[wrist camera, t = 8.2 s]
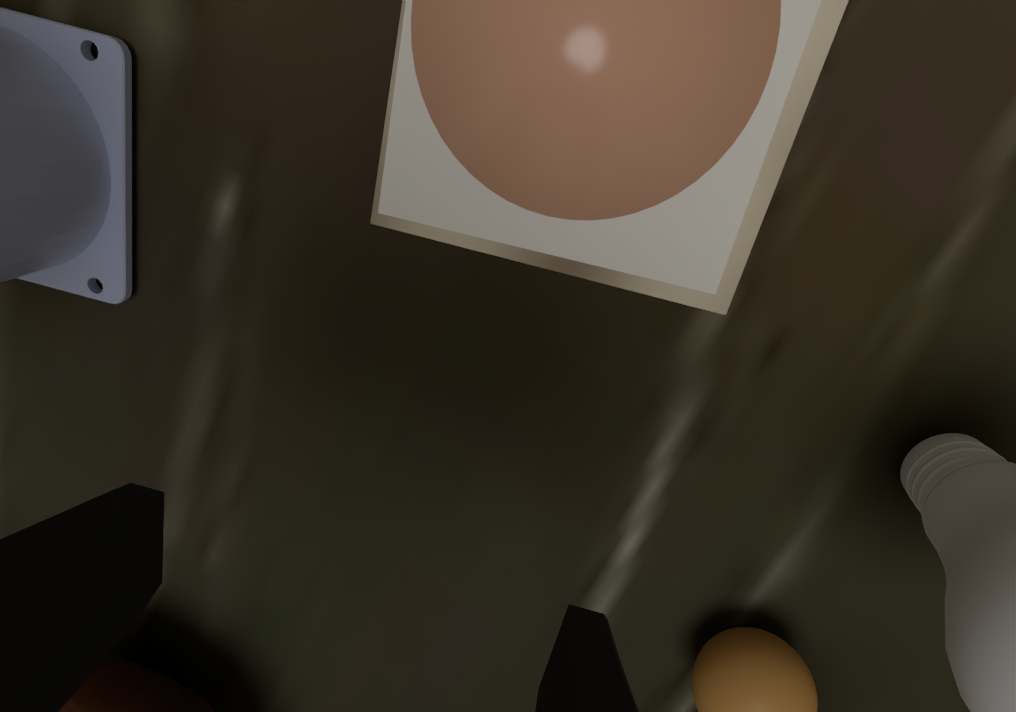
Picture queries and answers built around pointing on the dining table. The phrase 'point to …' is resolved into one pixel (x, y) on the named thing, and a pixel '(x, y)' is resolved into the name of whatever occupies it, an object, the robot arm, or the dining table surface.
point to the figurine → (751, 674)
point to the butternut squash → (133, 691)
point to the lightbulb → (972, 559)
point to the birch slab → (750, 225)
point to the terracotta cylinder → (591, 94)
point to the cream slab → (605, 243)
